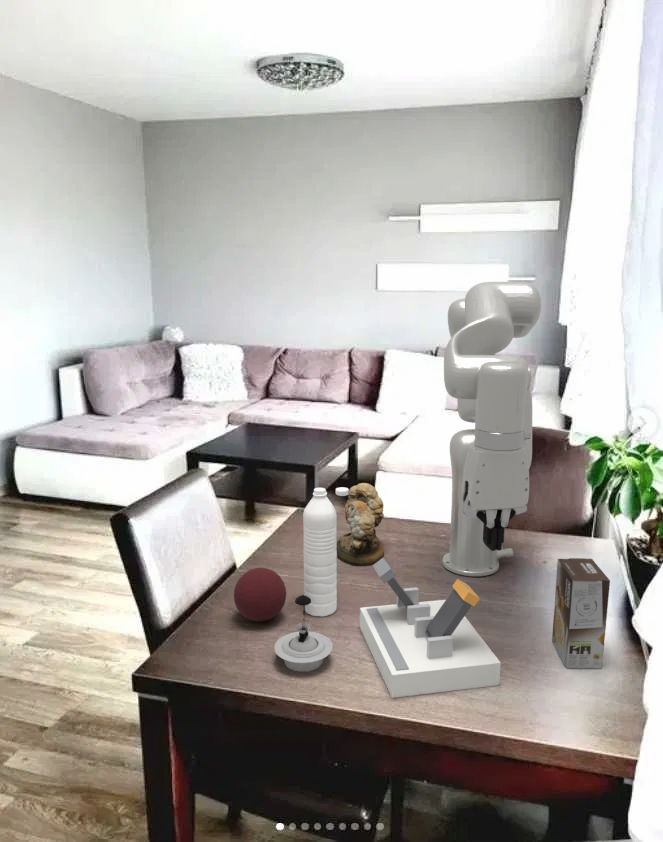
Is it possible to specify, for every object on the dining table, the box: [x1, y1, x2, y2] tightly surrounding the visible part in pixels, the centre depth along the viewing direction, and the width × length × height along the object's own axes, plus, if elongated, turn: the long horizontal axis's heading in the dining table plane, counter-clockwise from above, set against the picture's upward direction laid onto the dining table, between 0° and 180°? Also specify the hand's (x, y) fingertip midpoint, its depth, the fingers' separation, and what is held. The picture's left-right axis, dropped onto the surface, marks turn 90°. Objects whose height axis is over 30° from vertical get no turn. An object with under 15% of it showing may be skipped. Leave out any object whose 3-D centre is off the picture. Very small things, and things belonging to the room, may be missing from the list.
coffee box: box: [551, 557, 611, 670], centre depth 116 cm, size 9×6×16 cm
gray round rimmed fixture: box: [274, 594, 334, 672], centre depth 114 cm, size 12×10×10 cm
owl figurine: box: [336, 482, 385, 567], centre depth 160 cm, size 18×12×17 cm, turn 5°
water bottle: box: [302, 486, 350, 617], centre depth 131 cm, size 9×6×25 cm
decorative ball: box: [233, 567, 287, 622], centre depth 129 cm, size 10×10×10 cm
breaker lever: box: [425, 578, 481, 638], centre depth 112 cm, size 2×5×11 cm
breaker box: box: [359, 586, 502, 699], centre depth 117 cm, size 18×22×7 cm
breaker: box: [372, 557, 415, 608], centre depth 122 cm, size 2×5×11 cm
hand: (492, 547), depth 111 cm, fingers closed
